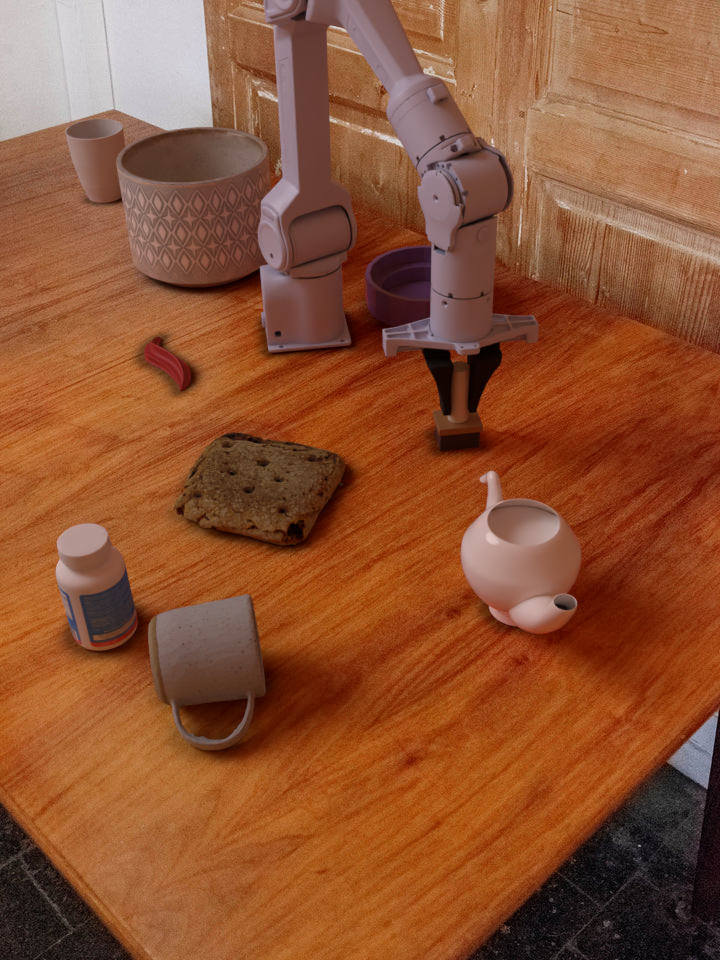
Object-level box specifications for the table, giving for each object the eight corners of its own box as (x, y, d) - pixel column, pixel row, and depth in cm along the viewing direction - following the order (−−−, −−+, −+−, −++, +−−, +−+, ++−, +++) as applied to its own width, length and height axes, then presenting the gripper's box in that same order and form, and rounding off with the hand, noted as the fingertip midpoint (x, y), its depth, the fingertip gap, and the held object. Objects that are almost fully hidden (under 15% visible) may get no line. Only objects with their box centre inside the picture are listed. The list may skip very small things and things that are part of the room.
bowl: (375, 340, 126) (375, 306, 123) (359, 283, 137) (358, 250, 134) (496, 329, 127) (498, 294, 125) (470, 273, 138) (471, 240, 136)
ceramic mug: (158, 657, 88) (143, 589, 83) (259, 642, 89) (251, 573, 84) (163, 765, 79) (148, 696, 75) (275, 747, 80) (267, 678, 76)
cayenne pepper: (141, 341, 127) (139, 326, 126) (181, 335, 128) (179, 320, 127) (151, 395, 118) (148, 380, 117) (194, 389, 119) (191, 374, 118)
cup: (139, 185, 163) (129, 118, 157) (125, 207, 157) (114, 139, 151) (87, 184, 164) (74, 118, 158) (70, 206, 158) (57, 139, 152)
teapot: (530, 522, 100) (538, 440, 94) (617, 685, 84) (632, 598, 78) (429, 539, 98) (430, 456, 93) (498, 708, 83) (505, 621, 77)
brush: (438, 453, 108) (440, 377, 103) (432, 433, 111) (433, 359, 106) (482, 448, 109) (486, 373, 104) (474, 429, 112) (478, 355, 106)
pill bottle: (150, 613, 92) (132, 524, 86) (118, 659, 88) (97, 569, 82) (92, 600, 93) (71, 511, 87) (59, 644, 89) (34, 554, 83)
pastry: (209, 576, 95) (205, 550, 93) (145, 471, 107) (141, 446, 106) (384, 514, 101) (384, 488, 99) (304, 421, 113) (303, 397, 112)
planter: (129, 239, 149) (111, 135, 140) (264, 222, 152) (255, 120, 143) (139, 303, 134) (120, 192, 126) (288, 283, 137) (280, 173, 129)
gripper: (390, 313, 95) (391, 439, 104) (552, 298, 97) (540, 424, 105) (378, 276, 101) (380, 398, 109) (531, 262, 102) (521, 384, 111)
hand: (457, 408), depth 108 cm, fingers closed on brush, 2 cm apart
